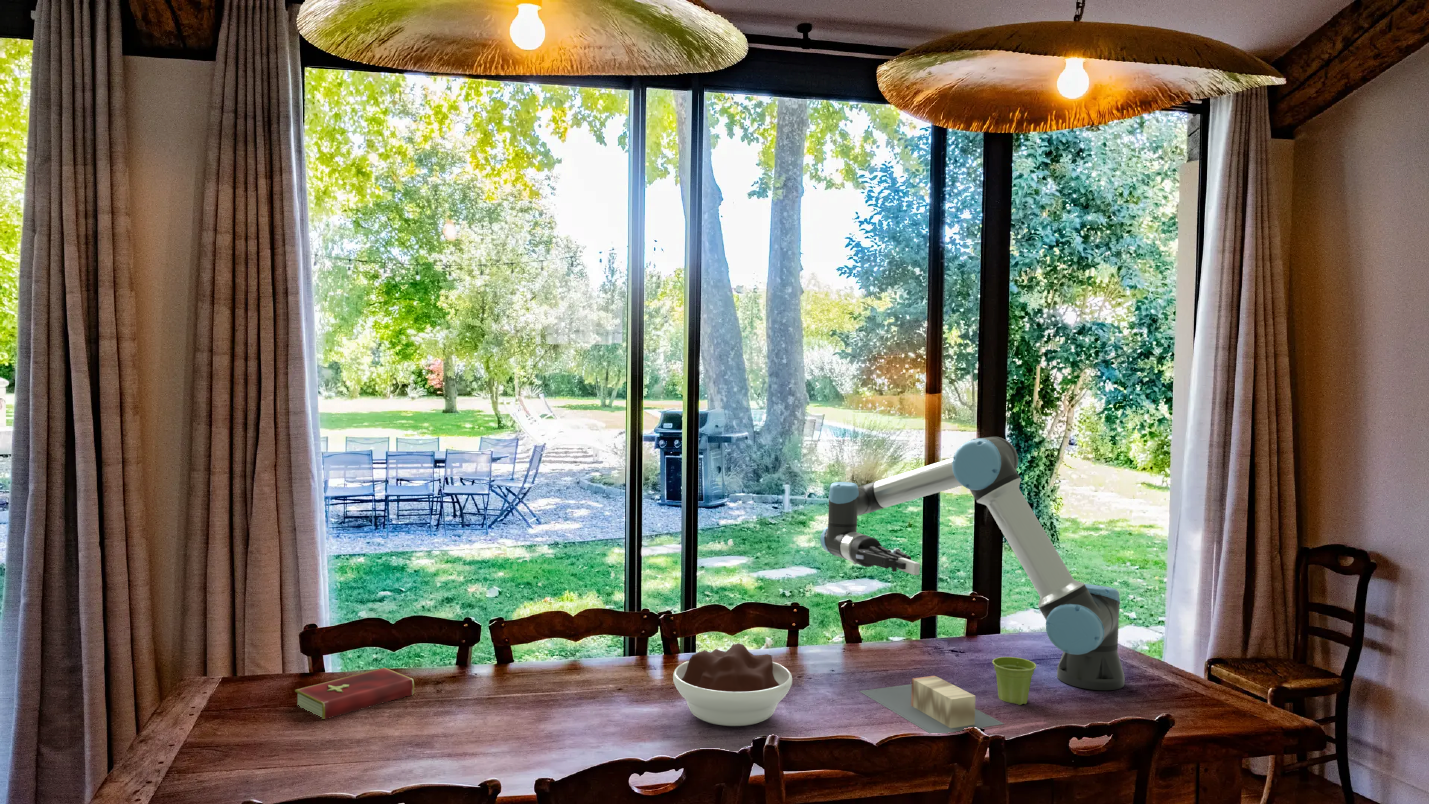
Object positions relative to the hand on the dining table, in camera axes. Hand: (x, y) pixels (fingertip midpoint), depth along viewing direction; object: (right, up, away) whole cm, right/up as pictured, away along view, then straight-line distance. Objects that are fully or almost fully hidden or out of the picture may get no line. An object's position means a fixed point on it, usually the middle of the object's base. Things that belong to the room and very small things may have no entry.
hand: (916, 569), depth 225 cm
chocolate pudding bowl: (-43, -28, -20) cm, 55 cm away
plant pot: (+20, -29, -6) cm, 36 cm away
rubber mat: (0, -28, -13) cm, 31 cm away
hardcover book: (-124, -27, -15) cm, 128 cm away
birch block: (-1, -25, -11) cm, 27 cm away
